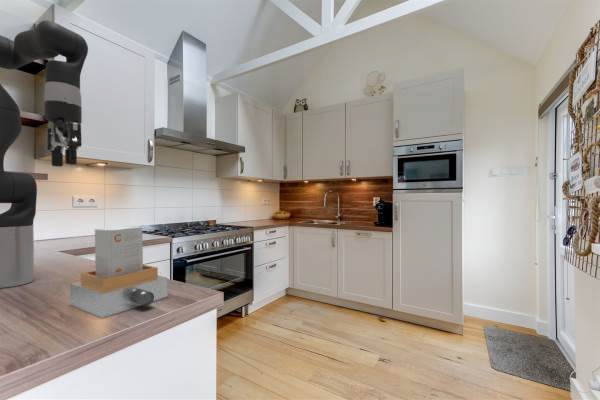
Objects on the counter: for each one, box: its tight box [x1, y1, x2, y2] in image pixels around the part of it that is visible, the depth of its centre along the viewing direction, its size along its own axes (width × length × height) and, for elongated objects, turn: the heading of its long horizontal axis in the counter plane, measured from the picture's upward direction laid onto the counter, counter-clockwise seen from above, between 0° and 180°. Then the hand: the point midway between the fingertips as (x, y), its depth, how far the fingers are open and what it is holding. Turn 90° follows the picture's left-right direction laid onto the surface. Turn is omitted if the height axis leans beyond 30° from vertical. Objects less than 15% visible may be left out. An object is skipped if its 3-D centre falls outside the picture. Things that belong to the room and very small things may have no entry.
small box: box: [94, 225, 144, 278], centre depth 70 cm, size 8×6×13 cm
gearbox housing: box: [70, 264, 168, 319], centre depth 69 cm, size 19×15×8 cm
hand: (63, 165), depth 75 cm, fingers open, 8 cm apart
